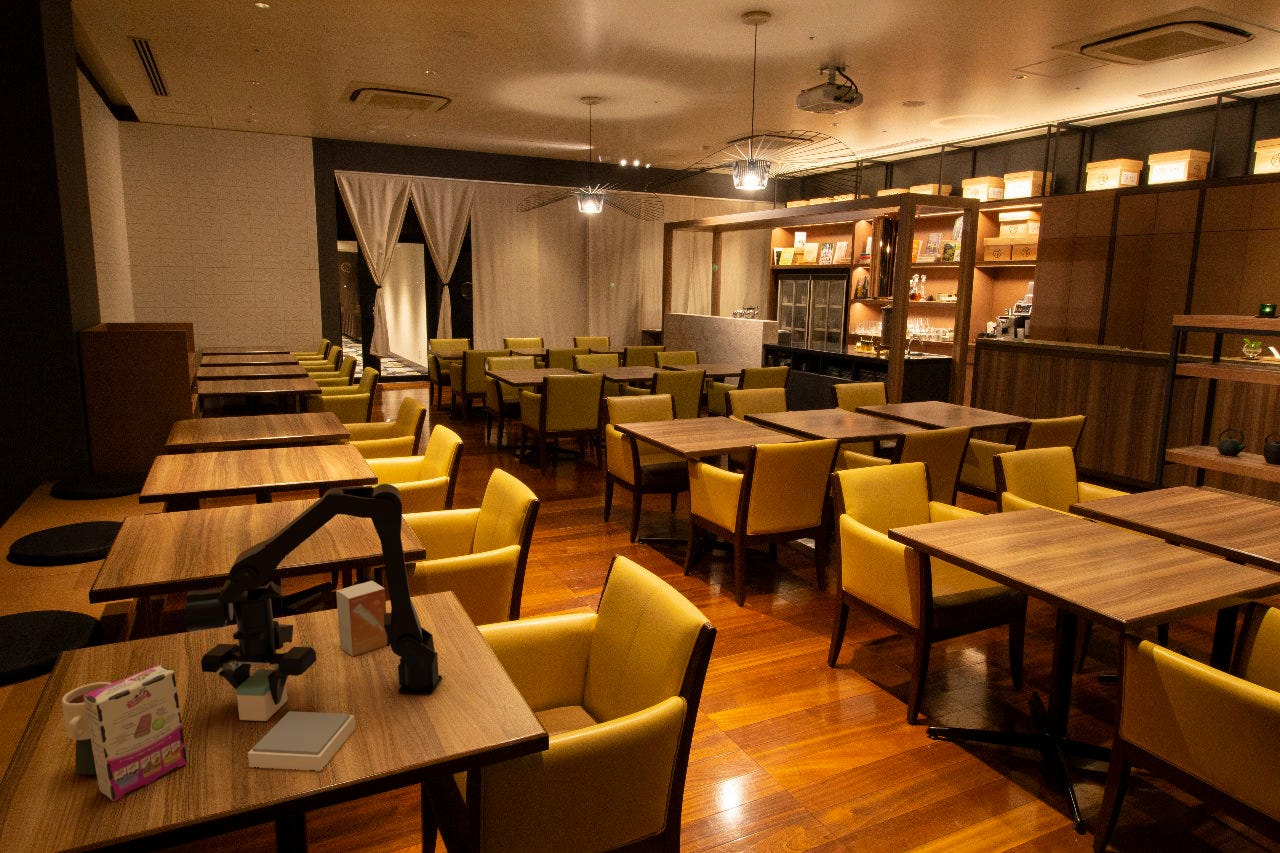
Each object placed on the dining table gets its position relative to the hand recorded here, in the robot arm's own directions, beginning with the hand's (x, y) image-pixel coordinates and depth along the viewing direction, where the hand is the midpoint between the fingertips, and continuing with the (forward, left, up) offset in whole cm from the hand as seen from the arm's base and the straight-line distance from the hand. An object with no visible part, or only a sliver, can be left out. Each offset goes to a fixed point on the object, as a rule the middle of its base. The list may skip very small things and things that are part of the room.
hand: (263, 702), depth 140 cm
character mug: (+17, +18, -2) cm, 25 cm away
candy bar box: (+8, +20, -2) cm, 22 cm away
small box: (-7, -26, -2) cm, 27 cm away
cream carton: (0, 0, -1) cm, 1 cm away
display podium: (-13, +10, -2) cm, 16 cm away
